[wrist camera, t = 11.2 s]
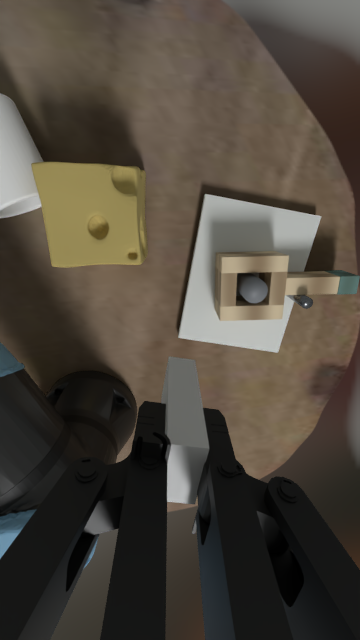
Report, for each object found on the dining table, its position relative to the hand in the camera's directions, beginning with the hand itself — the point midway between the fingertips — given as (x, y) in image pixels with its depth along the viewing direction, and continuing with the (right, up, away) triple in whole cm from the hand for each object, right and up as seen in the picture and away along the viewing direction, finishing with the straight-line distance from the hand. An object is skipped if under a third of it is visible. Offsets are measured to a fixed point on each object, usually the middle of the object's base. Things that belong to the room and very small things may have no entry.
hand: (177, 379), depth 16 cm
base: (+9, +9, +25) cm, 28 cm away
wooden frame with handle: (+14, +9, +24) cm, 29 cm away
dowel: (+16, +7, +24) cm, 30 cm away
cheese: (-9, +17, +22) cm, 29 cm away
